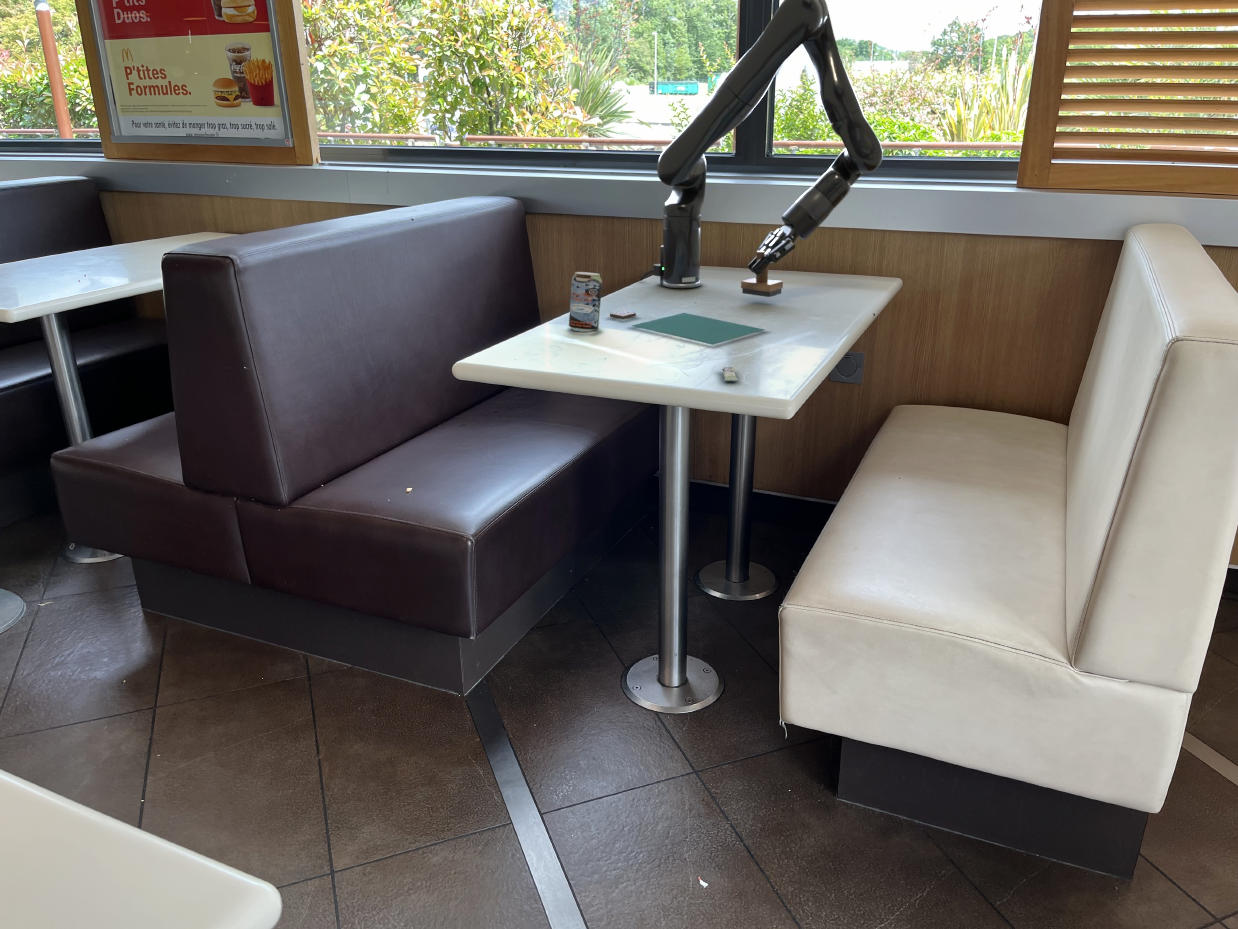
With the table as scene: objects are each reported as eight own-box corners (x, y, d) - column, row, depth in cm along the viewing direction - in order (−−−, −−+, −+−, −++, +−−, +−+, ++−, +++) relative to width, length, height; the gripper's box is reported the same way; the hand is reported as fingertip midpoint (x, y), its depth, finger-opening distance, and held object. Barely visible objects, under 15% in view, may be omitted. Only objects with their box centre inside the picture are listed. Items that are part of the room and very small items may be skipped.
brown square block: (609, 318, 191) (609, 313, 191) (622, 315, 194) (622, 310, 193) (623, 321, 189) (623, 316, 188) (636, 318, 191) (636, 312, 191)
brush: (740, 293, 204) (741, 251, 200) (753, 289, 207) (754, 248, 204) (769, 297, 199) (770, 254, 195) (782, 293, 202) (783, 250, 198)
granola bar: (738, 383, 147) (738, 377, 146) (724, 383, 147) (724, 377, 146) (734, 371, 153) (734, 365, 153) (720, 371, 153) (720, 365, 153)
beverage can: (563, 333, 180) (561, 273, 175) (581, 325, 186) (580, 267, 181) (590, 336, 177) (589, 276, 172) (608, 328, 183) (607, 270, 178)
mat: (631, 328, 183) (631, 325, 183) (684, 315, 193) (684, 312, 193) (712, 347, 168) (712, 344, 168) (765, 332, 178) (765, 329, 178)
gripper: (787, 198, 203) (733, 254, 206) (807, 204, 190) (749, 264, 193) (808, 221, 205) (754, 276, 208) (829, 229, 192) (771, 288, 196)
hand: (752, 270), depth 201 cm, fingers closed on brush, 2 cm apart
